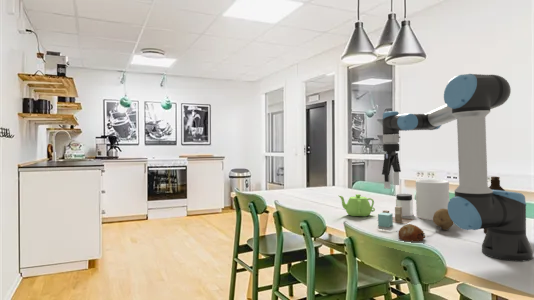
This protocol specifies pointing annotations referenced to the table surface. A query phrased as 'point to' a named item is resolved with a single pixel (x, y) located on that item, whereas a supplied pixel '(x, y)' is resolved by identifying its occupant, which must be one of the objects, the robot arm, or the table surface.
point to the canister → (431, 197)
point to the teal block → (385, 219)
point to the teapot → (358, 206)
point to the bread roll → (411, 233)
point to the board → (403, 220)
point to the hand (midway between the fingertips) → (391, 186)
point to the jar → (405, 204)
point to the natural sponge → (442, 219)
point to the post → (398, 213)
